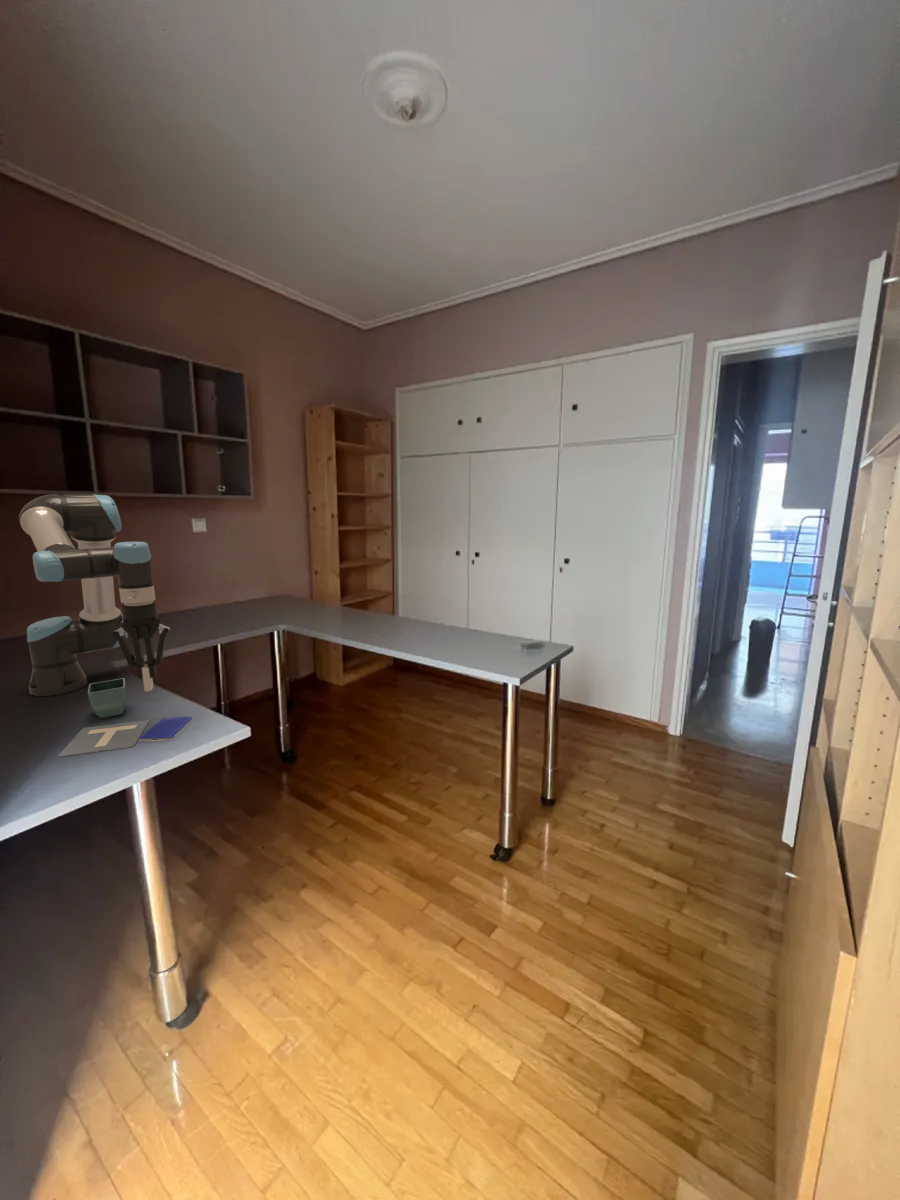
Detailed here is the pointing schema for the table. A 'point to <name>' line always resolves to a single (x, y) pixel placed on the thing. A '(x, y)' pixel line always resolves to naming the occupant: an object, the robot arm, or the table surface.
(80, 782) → the table surface
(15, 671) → the table surface
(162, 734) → the blue book
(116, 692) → the flower pot
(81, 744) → the letter card
